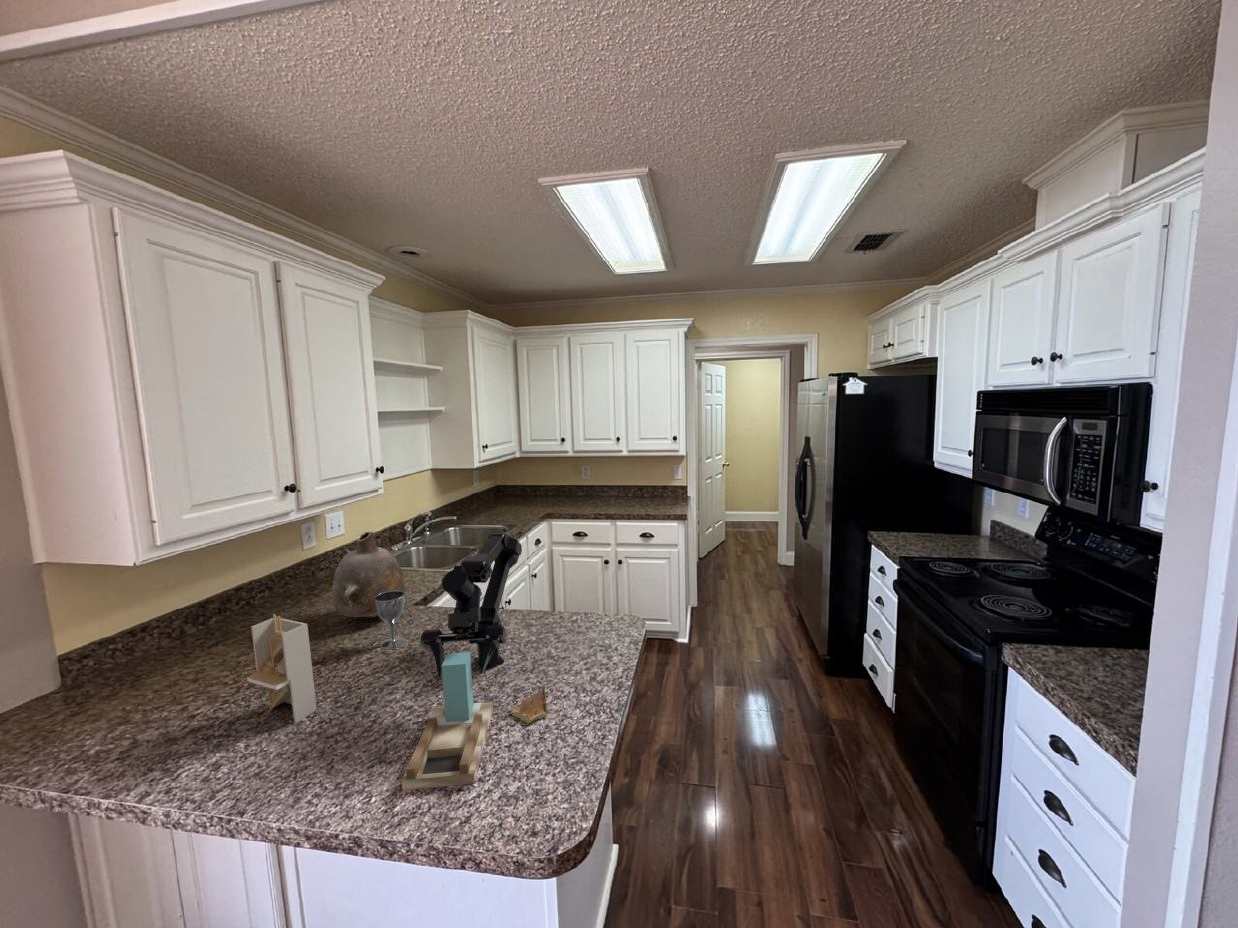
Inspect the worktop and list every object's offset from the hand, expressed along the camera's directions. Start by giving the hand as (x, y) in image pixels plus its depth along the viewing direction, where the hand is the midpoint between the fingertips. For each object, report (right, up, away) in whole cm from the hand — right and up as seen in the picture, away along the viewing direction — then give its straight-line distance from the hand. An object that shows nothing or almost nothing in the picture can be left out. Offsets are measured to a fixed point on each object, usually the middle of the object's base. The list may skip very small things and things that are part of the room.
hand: (460, 675), depth 110 cm
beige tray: (+1, -11, -9) cm, 14 cm away
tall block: (0, -8, -2) cm, 8 cm away
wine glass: (-32, -6, +36) cm, 48 cm away
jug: (-47, -4, +54) cm, 72 cm away
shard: (+15, -10, +3) cm, 18 cm away
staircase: (-42, -11, +4) cm, 43 cm away
